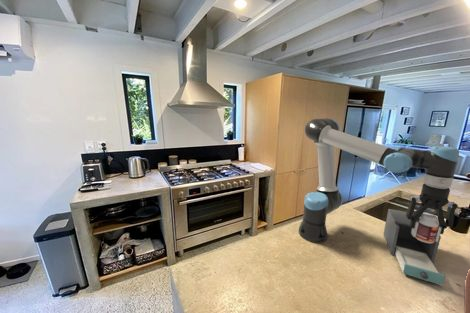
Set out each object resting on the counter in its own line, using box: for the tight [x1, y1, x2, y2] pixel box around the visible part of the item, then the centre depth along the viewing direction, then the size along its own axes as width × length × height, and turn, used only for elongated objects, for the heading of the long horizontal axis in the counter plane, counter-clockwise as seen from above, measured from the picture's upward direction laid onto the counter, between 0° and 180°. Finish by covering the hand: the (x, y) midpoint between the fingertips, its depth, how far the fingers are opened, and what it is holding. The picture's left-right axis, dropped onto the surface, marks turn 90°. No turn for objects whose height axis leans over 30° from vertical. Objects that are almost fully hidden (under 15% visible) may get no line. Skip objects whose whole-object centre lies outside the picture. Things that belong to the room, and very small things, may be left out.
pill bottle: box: [415, 212, 439, 243], centre depth 79 cm, size 6×6×11 cm
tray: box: [394, 246, 446, 286], centre depth 83 cm, size 18×12×4 cm, turn 152°
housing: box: [383, 208, 442, 265], centre depth 94 cm, size 18×15×16 cm
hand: (424, 237), depth 80 cm, fingers closed on pill bottle, 6 cm apart
